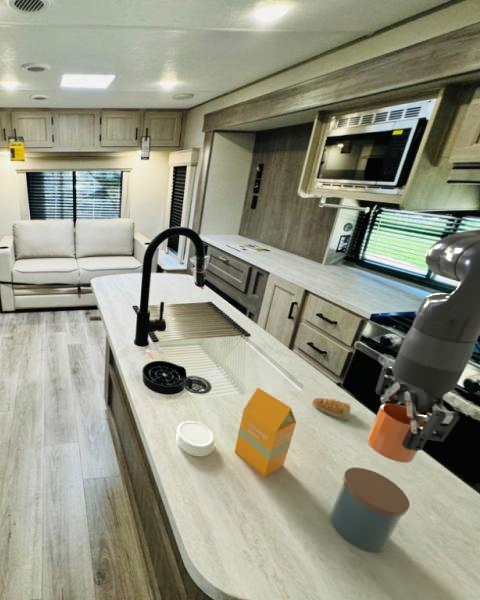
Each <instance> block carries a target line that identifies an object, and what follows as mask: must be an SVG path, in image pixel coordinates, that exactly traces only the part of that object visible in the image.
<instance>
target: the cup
mask: <svg viewBox="0 0 480 600" xmlns="http://www.w3.org/2000/svg"><path fill="white" fill-rule="evenodd" d="M381 404H382V403H381ZM381 404H380V406H379V408H380V409H378V411H377V414H376V416H375V418H374V421H373V423H372V426H371V427H370V431H369V433H368V435H367V443H368V445H369V446H370V448H371V449H372V450H373V451H374V452H376V453H377V454H379V455H380V456H383V457H384V458H386V459H389V460H391V461H393V462H398V463H411V462H413V460H414V459H415V457H416V455H417V453H418V451H415V450H408V449H406V448H405V447H404V446H403V445H402V444H403V442H404V440H405V438H406V436H407V433H408V431H409V430H411V429H410V419H409V418H408V417H407V408H406V407H405V405H401V404H392V403H386V404H382V405H381ZM416 414H417V415H423V414H421V412H416ZM419 427H424V421H419Z"/></svg>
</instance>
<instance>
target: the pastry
mask: <svg viewBox="0 0 480 600" xmlns="http://www.w3.org/2000/svg"><path fill="white" fill-rule="evenodd" d="M312 406H314V408H316V409H317V410H318V411H320V412H323V413H324V414H326V415H328V416H331V417H334V418H338V419H339V420H343V421H348V420H349V419H350V417H351V405H350V403H348V402H343V401H340V400H337V399H335V398H324V397H316V398H315V399H313V400H312Z"/></svg>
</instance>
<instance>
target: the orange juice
mask: <svg viewBox="0 0 480 600" xmlns="http://www.w3.org/2000/svg"><path fill="white" fill-rule="evenodd" d="M241 415H242V416H241V420H240V425H239V428H238V432H237V439H236V444H235V448H234V453H236V454H237V455H238V456H239V457H240V459H242V460H244V462H246V463H247V464H248V465H249V466H251V467H252V468H253V469H254V470H255V471H256V472H257V473H258V474H260V475H261V476H262V477H263V478H265V477H267V476H268V475H270V474H272V473H273V472H276V471H277V470H278V469H280V468H283V467H284V464H285V462H286V458H287V455H288V451H289V449H290V446H291V442H292V438H293V435H294V432H295V429H296V424H297V421H296V418H295V416H294V412H293V410H292V407H291V406H289V405H287V404H286V403H284V402H282V401H280V400H279V399H277V398H276V397H275V396H272V395H271V394H269V393H268V392H266V391H265V390H263V389H261V388H260V387H257V388H256V390H255V391H254V393H253V394H252V395H251V397H250V399H249V401H248V402H247V404H246V405H245V406H244V408H243V410H242V414H241Z"/></svg>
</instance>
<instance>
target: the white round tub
mask: <svg viewBox="0 0 480 600" xmlns="http://www.w3.org/2000/svg"><path fill="white" fill-rule="evenodd" d="M175 439H176V444H177V445H178V447H179V448H180V449H181V450H182V451H183V452H185V453H187V454H188V455H189V456H190V455H191V456H194V457H207V456H209V455H211V453H212V452H213V451H214V447H215V442H216V439H215V434H214V433H213V431H212V430H211V429H210V428H209V427H207V426H206V425H205V424H204V423H200V422H197V421H192V420H191V421H189V420H188V421H184V422H182V423H180V424H179V425H178V426H177V428H176V434H175Z"/></svg>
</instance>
